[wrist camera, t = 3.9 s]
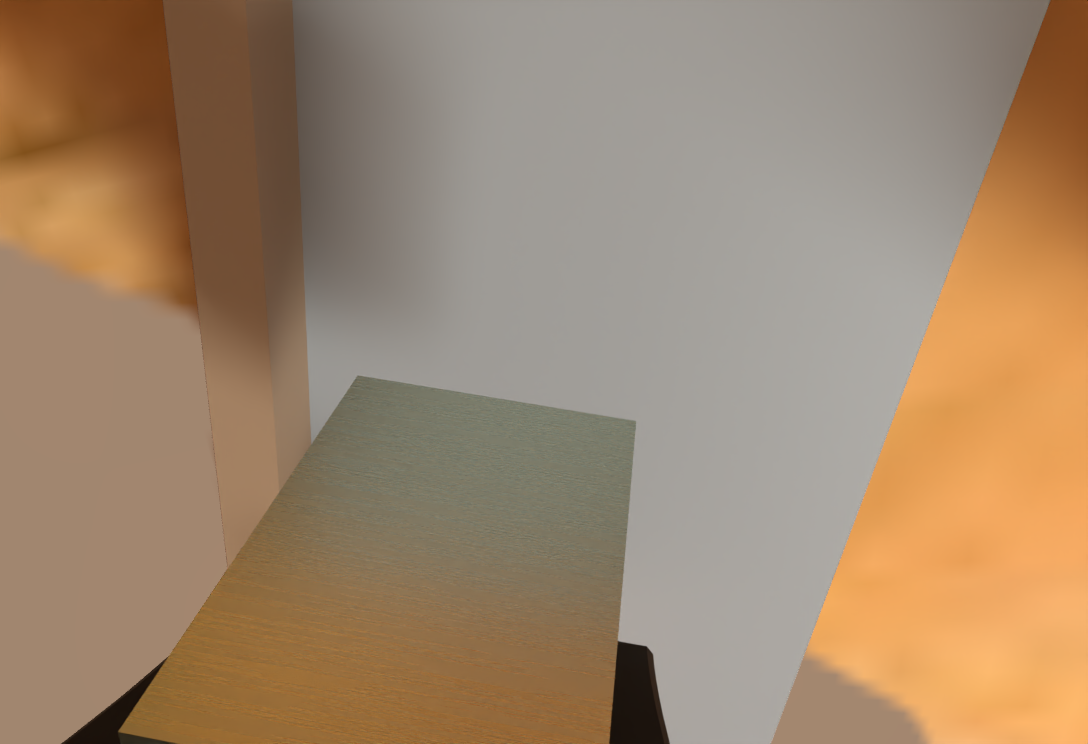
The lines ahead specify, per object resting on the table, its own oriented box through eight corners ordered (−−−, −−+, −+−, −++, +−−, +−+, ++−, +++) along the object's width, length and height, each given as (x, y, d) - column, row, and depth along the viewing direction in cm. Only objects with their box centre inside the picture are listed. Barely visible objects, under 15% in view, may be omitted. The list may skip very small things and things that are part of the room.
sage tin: (636, 420, 12) (601, 826, 7) (581, 707, 15) (529, 1143, 10) (347, 373, 12) (101, 728, 7) (350, 664, 15) (179, 1065, 10)
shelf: (1174, -403, 13) (1299, -476, 10) (734, 804, 28) (740, 898, 25) (194, -496, 14) (81, -584, 11) (286, 717, 29) (247, 799, 26)
